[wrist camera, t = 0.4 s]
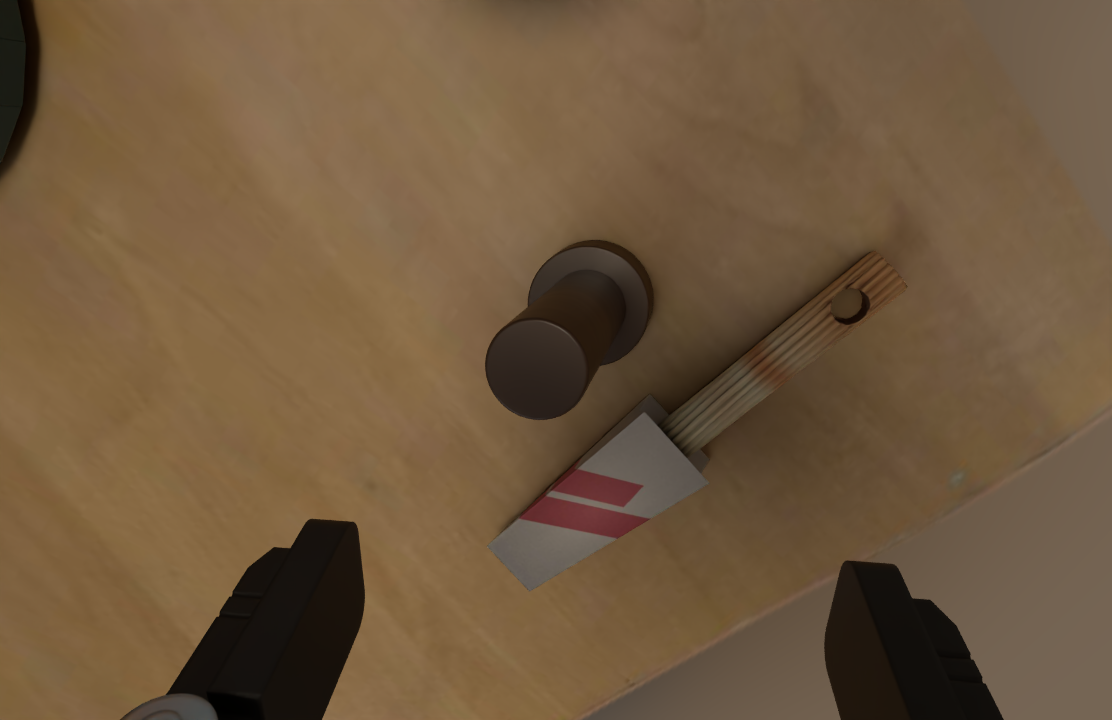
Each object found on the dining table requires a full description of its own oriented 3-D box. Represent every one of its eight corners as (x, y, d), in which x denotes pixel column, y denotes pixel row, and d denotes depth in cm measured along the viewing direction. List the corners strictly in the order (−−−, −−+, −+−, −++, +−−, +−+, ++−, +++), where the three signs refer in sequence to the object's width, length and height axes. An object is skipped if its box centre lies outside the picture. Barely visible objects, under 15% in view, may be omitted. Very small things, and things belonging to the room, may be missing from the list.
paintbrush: (468, 551, 33) (867, 234, 27) (485, 524, 36) (852, 229, 30) (529, 618, 33) (937, 316, 28) (541, 586, 36) (915, 304, 30)
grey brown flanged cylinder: (580, 216, 31) (510, 250, 21) (677, 285, 31) (656, 353, 21) (517, 310, 33) (424, 386, 23) (609, 376, 33) (559, 482, 23)
